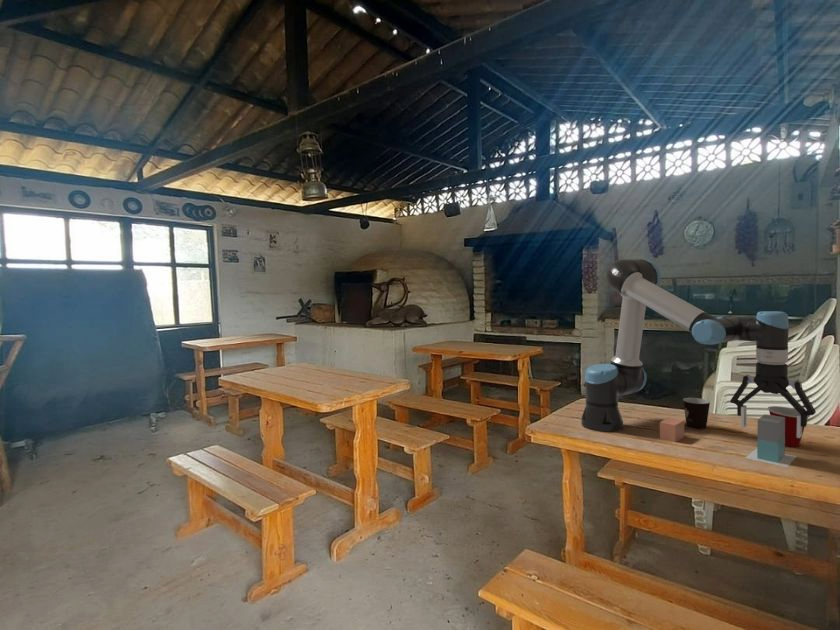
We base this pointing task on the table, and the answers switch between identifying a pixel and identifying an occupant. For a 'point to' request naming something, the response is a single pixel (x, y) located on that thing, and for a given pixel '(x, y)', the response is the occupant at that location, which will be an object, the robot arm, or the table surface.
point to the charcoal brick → (771, 428)
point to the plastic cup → (788, 424)
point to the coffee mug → (696, 412)
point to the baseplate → (783, 462)
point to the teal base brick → (770, 450)
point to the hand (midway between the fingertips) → (770, 431)
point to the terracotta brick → (672, 429)
